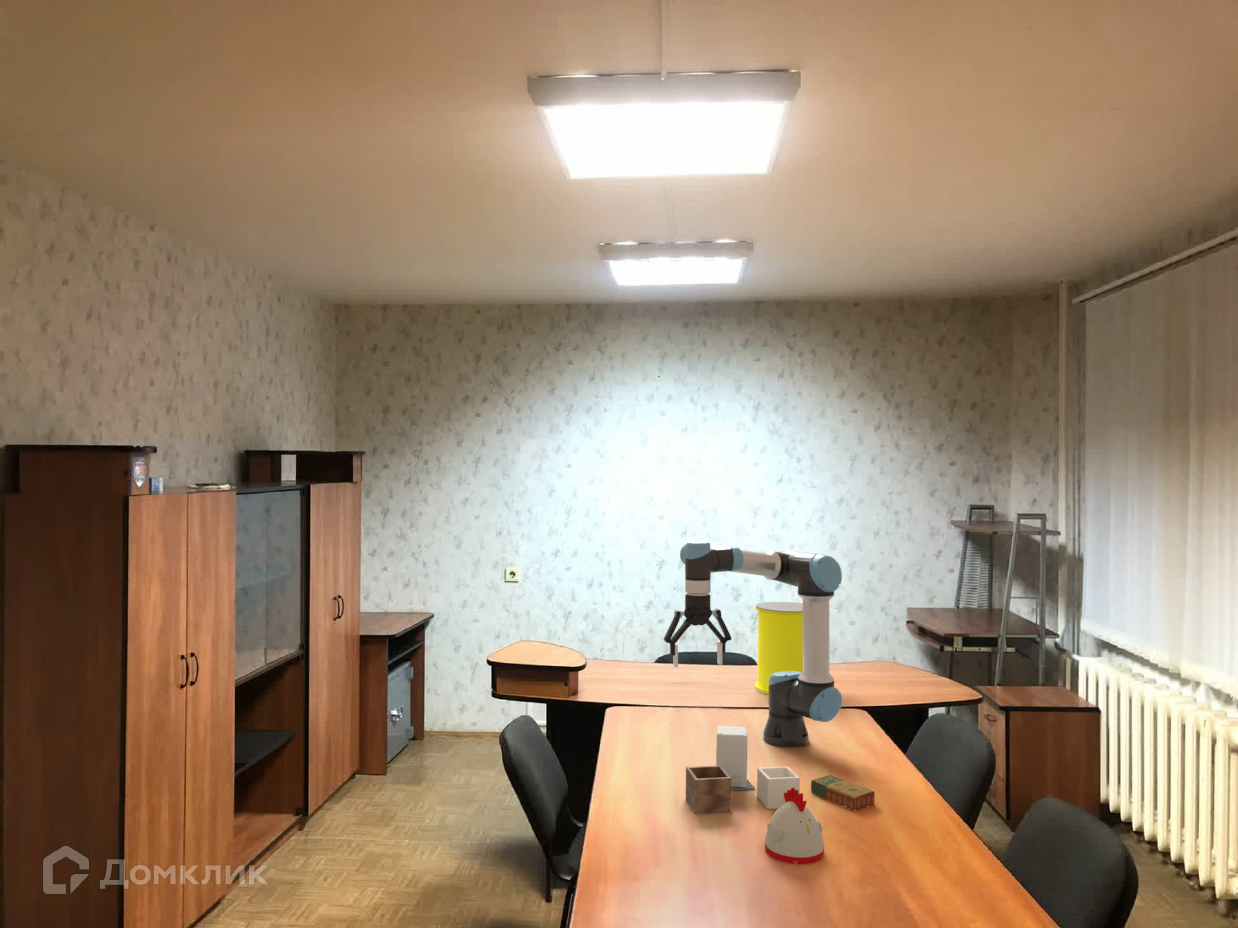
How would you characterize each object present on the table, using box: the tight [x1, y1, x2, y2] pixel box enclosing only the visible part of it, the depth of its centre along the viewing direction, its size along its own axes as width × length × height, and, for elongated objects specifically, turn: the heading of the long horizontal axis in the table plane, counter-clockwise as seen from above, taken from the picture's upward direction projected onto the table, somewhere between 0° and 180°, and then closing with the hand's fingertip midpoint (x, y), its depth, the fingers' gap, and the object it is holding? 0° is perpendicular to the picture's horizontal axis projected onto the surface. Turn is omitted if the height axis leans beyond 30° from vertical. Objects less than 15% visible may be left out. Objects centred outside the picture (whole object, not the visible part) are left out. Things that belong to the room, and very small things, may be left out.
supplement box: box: [715, 725, 748, 788], centre depth 248 cm, size 9×9×15 cm
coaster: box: [731, 779, 756, 792], centre depth 248 cm, size 11×11×1 cm
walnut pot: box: [685, 765, 732, 815], centre depth 232 cm, size 10×10×9 cm
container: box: [754, 601, 803, 696], centre depth 359 cm, size 26×26×35 cm
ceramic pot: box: [756, 766, 801, 810], centre depth 235 cm, size 9×9×8 cm
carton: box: [810, 774, 876, 811], centre depth 238 cm, size 8×16×4 cm, turn 34°
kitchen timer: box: [764, 788, 825, 865], centre depth 204 cm, size 14×14×15 cm
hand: (697, 665), depth 253 cm, fingers open, 13 cm apart
